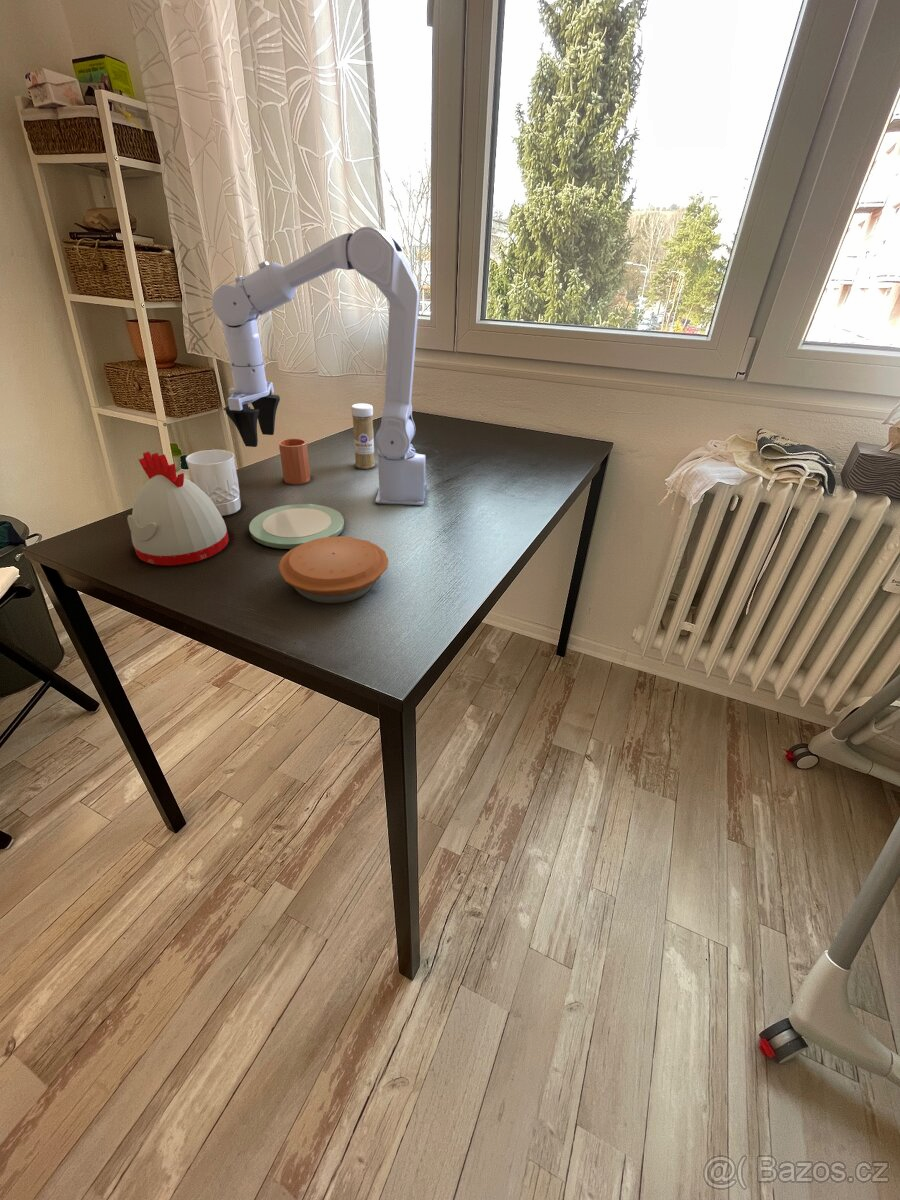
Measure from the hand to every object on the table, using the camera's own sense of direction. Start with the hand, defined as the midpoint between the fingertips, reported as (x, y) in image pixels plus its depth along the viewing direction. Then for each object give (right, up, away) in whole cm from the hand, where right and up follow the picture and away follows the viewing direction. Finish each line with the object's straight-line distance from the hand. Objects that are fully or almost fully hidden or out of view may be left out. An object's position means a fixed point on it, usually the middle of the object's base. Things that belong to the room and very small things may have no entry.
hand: (260, 440), depth 99 cm
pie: (+20, -29, -23) cm, 42 cm away
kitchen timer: (-7, -22, -15) cm, 27 cm away
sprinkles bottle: (+17, 0, +19) cm, 25 cm away
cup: (+4, -5, +10) cm, 12 cm away
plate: (+10, -18, -9) cm, 23 cm away
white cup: (-6, -14, -3) cm, 16 cm away
